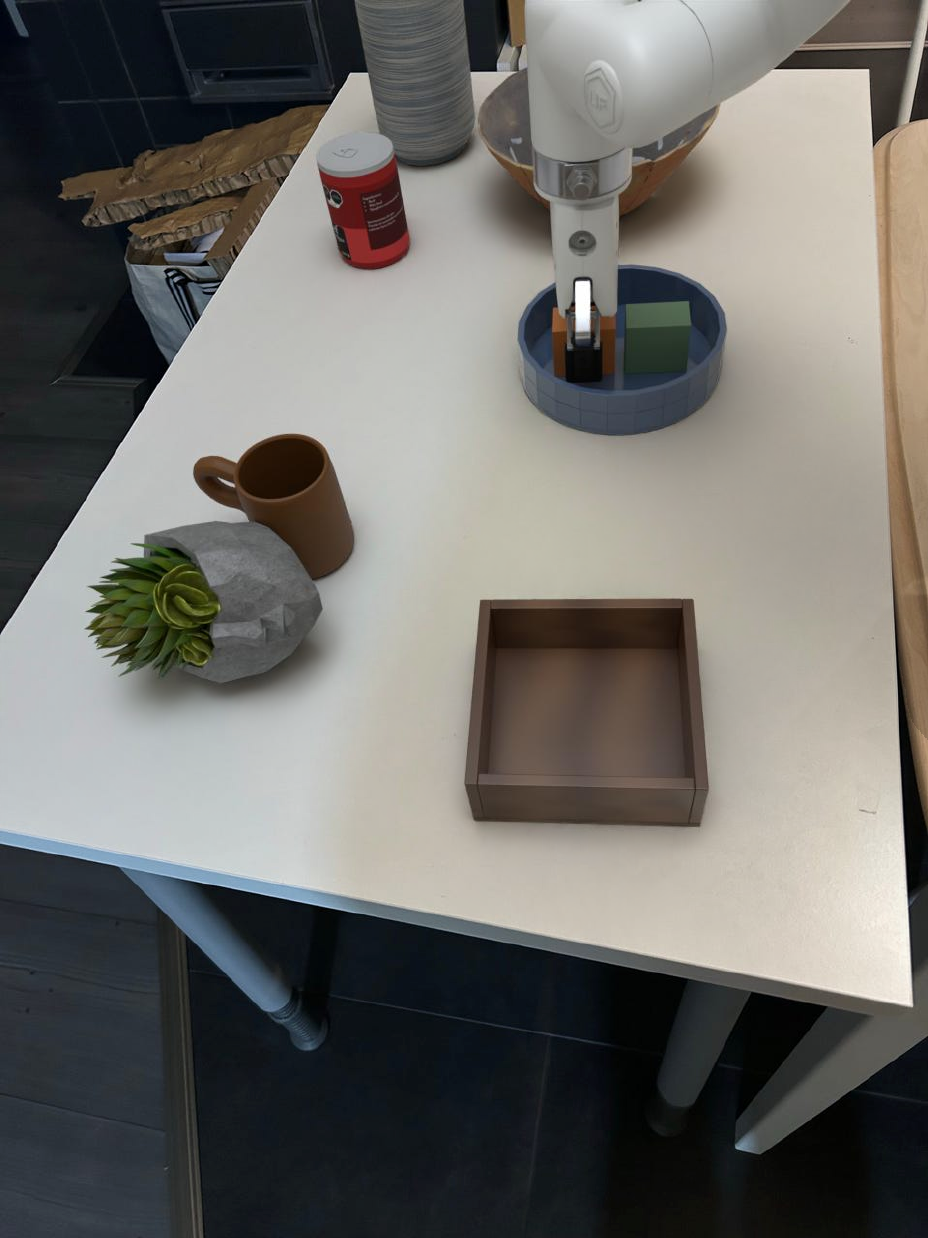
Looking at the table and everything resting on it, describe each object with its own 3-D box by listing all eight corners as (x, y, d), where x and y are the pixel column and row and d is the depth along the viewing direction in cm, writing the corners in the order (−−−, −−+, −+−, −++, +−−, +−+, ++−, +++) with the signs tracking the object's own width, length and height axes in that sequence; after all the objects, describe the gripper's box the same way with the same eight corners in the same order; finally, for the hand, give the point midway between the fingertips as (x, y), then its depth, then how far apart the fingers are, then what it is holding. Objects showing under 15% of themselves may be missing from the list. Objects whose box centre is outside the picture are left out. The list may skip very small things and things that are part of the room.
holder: (687, 644, 67) (693, 598, 62) (700, 827, 59) (709, 790, 54) (487, 643, 69) (479, 599, 64) (473, 821, 61) (464, 784, 56)
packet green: (684, 347, 85) (688, 300, 81) (686, 371, 83) (691, 325, 79) (623, 349, 86) (625, 303, 82) (624, 373, 84) (626, 328, 80)
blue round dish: (712, 300, 89) (717, 259, 85) (728, 431, 79) (735, 390, 75) (525, 309, 92) (522, 269, 88) (516, 438, 81) (513, 398, 78)
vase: (433, 113, 117) (403, -106, 98) (497, 140, 111) (477, -88, 93) (364, 153, 113) (319, -67, 95) (426, 183, 107) (391, -45, 89)
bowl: (583, 116, 112) (582, 26, 104) (758, 175, 101) (772, 79, 93) (438, 214, 103) (425, 124, 95) (611, 290, 92) (613, 195, 84)
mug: (204, 567, 76) (162, 488, 69) (242, 500, 81) (206, 419, 73) (337, 590, 73) (307, 510, 66) (369, 520, 77) (344, 437, 70)
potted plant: (346, 648, 65) (140, 744, 59) (297, 636, 76) (120, 714, 71) (282, 485, 62) (59, 569, 56) (241, 498, 74) (52, 568, 68)
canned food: (347, 230, 104) (324, 132, 95) (416, 228, 102) (399, 128, 93) (332, 271, 99) (307, 172, 90) (404, 269, 98) (385, 169, 89)
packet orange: (614, 350, 86) (615, 304, 82) (614, 374, 84) (615, 328, 80) (555, 352, 87) (553, 307, 82) (554, 376, 85) (552, 331, 81)
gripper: (635, 222, 64) (628, 413, 78) (629, 100, 74) (623, 289, 88) (528, 229, 65) (540, 416, 79) (536, 107, 75) (545, 293, 89)
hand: (584, 348), depth 84 cm, fingers open, 7 cm apart
